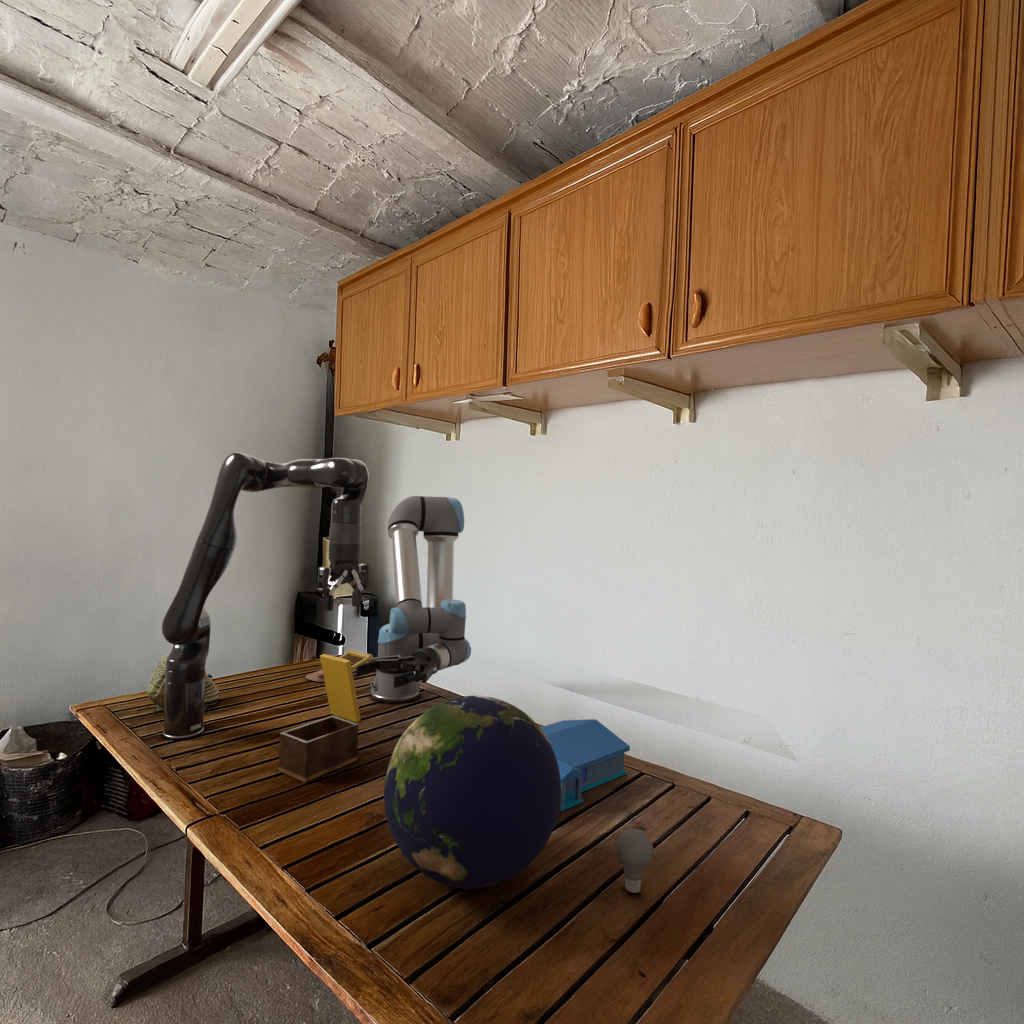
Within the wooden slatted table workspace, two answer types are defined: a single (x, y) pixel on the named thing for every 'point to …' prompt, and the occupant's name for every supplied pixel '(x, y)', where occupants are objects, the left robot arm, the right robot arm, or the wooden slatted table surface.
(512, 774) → the globe
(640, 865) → the light bulb
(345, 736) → the chest
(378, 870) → the wooden slatted table surface
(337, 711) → the lid
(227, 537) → the left robot arm
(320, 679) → the anatomical model
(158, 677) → the fossil
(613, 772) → the model building
